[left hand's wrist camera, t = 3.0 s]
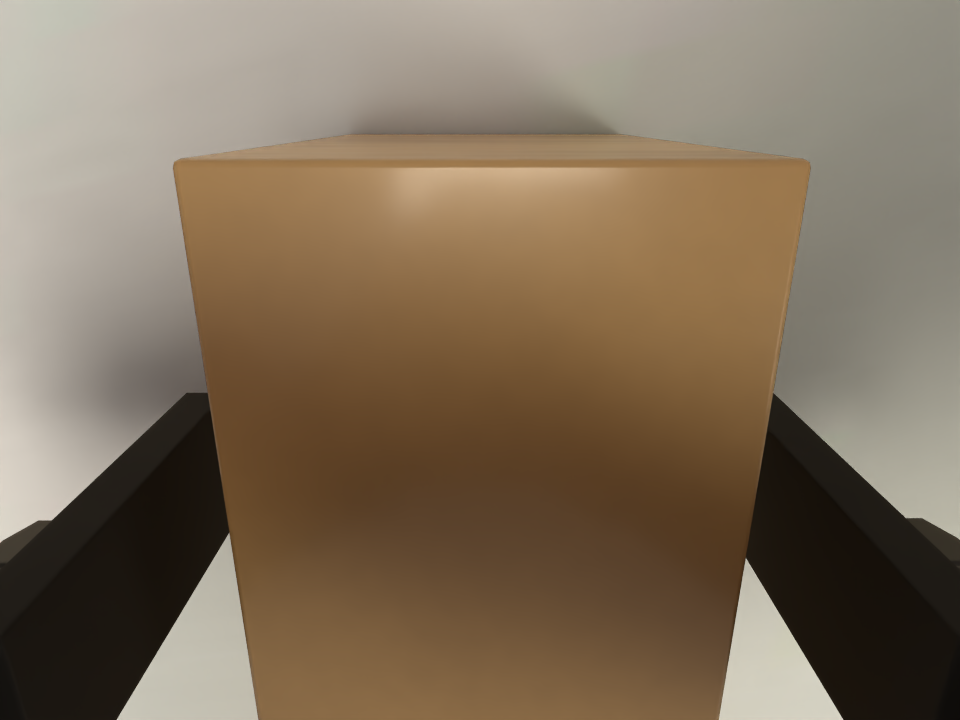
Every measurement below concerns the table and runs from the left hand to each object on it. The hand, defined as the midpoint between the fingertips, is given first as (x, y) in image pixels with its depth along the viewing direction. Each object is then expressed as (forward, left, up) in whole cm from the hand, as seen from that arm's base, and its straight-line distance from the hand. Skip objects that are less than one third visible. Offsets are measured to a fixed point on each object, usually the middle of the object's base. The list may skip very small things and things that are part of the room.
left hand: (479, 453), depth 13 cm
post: (+19, +21, -1) cm, 28 cm away
